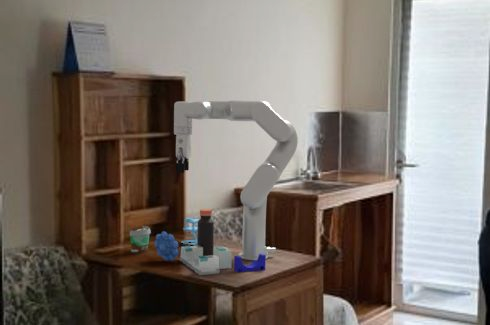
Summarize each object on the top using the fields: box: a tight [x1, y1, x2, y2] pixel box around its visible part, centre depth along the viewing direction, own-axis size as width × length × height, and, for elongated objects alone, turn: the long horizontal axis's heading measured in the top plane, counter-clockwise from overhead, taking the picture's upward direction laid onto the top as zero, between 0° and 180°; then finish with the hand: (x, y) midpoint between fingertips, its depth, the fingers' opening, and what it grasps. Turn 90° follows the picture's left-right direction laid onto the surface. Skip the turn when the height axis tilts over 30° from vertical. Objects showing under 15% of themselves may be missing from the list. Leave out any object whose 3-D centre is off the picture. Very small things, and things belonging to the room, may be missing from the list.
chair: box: [180, 217, 200, 246], centre depth 326 cm, size 8×8×12 cm
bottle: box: [196, 208, 215, 256], centre depth 299 cm, size 7×7×20 cm
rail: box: [179, 245, 221, 276], centre depth 283 cm, size 8×24×6 cm, turn 23°
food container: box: [129, 225, 152, 254], centre depth 307 cm, size 12×6×10 cm, turn 161°
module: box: [213, 246, 233, 270], centre depth 285 cm, size 5×7×8 cm
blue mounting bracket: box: [233, 254, 267, 273], centre depth 280 cm, size 12×4×6 cm, turn 114°
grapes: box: [153, 231, 180, 262], centre depth 291 cm, size 12×7×12 cm, turn 64°
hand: (182, 171), depth 302 cm, fingers open, 9 cm apart
